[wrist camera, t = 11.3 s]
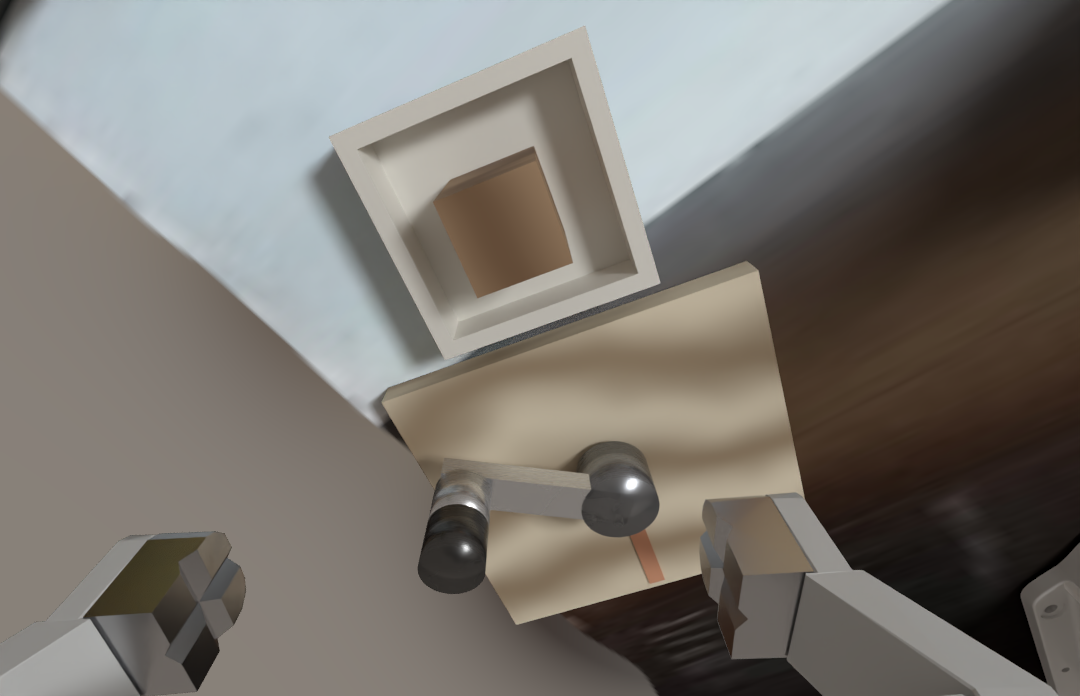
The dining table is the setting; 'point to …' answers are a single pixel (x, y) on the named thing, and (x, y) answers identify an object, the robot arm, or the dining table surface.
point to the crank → (530, 506)
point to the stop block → (504, 223)
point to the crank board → (615, 432)
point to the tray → (480, 139)
